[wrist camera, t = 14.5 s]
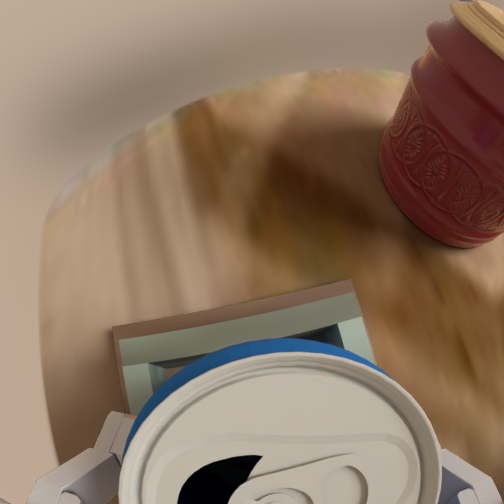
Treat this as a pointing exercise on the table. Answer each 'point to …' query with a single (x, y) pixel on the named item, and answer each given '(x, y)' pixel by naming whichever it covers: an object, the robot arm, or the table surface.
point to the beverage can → (281, 432)
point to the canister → (452, 131)
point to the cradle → (235, 334)
